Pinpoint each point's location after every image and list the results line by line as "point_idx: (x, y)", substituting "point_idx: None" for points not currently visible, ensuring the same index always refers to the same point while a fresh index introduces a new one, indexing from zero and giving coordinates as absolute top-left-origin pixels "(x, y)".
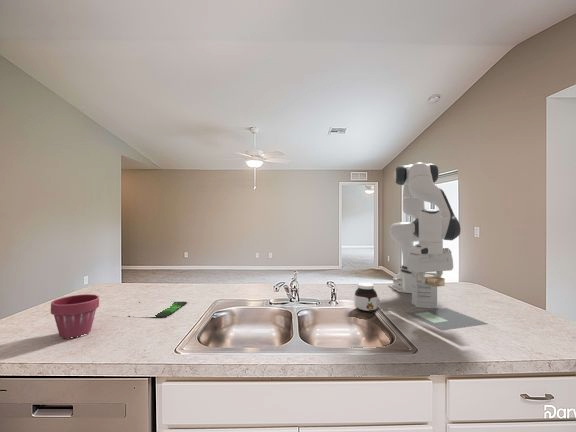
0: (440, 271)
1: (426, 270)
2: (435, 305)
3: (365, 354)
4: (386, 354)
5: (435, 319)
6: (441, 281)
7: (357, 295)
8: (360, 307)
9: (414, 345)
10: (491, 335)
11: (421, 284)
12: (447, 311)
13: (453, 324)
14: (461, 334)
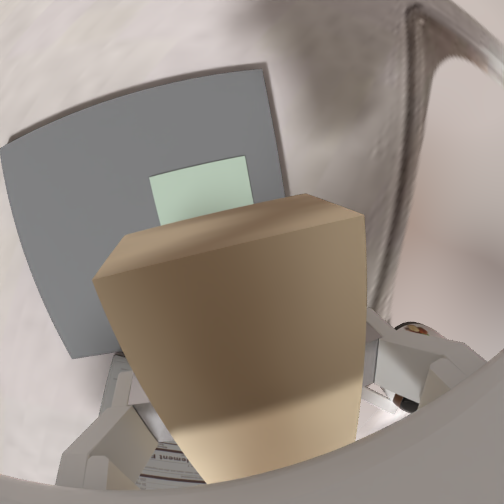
0: (94, 489)
1: (495, 385)
2: (118, 370)
3: (491, 53)
4: (465, 31)
5: (207, 203)
6: (175, 241)
7: None
8: (434, 330)
9: (405, 29)
10: (63, 47)
11: (186, 466)
12: (83, 317)
13: (153, 130)
14: (179, 50)
